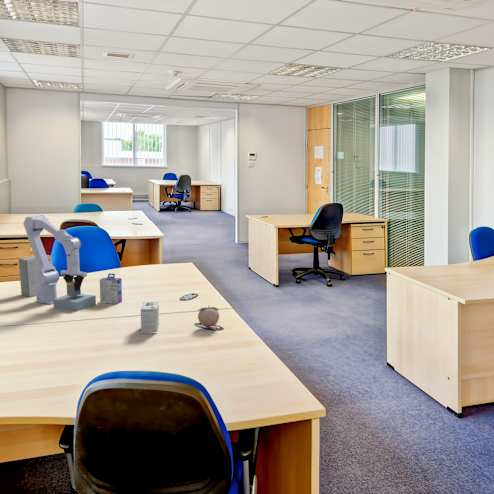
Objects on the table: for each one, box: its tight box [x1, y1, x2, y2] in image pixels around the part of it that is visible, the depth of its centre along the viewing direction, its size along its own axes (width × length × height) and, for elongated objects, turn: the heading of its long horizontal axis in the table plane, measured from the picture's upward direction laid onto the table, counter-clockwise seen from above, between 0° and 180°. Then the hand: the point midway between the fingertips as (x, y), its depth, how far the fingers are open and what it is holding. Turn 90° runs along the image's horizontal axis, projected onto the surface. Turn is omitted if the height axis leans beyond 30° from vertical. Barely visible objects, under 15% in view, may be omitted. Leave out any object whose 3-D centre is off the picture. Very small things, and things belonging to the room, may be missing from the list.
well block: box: [53, 293, 97, 312], centre depth 255 cm, size 14×14×4 cm
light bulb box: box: [140, 301, 160, 334], centre depth 219 cm, size 11×7×11 cm, turn 5°
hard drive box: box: [18, 254, 54, 298], centre depth 278 cm, size 16×8×20 cm, turn 144°
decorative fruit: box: [197, 306, 220, 328], centre depth 222 cm, size 9×8×10 cm
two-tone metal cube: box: [66, 280, 82, 296], centre depth 253 cm, size 4×5×6 cm
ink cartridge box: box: [99, 273, 123, 305], centre depth 262 cm, size 10×6×14 cm, turn 79°
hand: (74, 290), depth 254 cm, fingers closed on two-tone metal cube, 4 cm apart
